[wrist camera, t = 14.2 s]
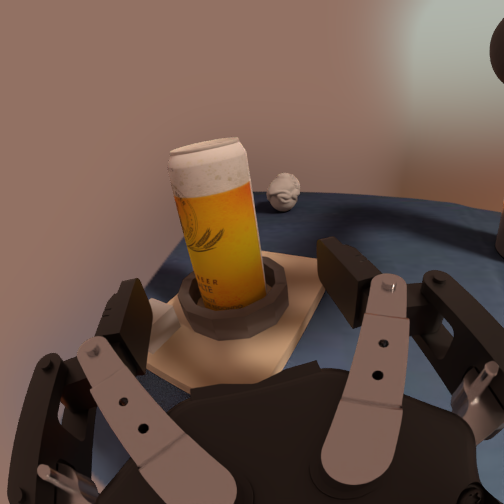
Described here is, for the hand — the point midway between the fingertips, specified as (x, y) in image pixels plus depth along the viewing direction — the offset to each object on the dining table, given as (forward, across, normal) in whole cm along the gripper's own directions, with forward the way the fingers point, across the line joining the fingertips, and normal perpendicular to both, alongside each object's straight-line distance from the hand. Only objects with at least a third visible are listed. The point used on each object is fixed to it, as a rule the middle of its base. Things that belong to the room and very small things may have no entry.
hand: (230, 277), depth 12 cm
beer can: (+11, 0, +10) cm, 15 cm away
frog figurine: (+37, -13, +12) cm, 41 cm away
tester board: (+11, 0, +12) cm, 16 cm away
